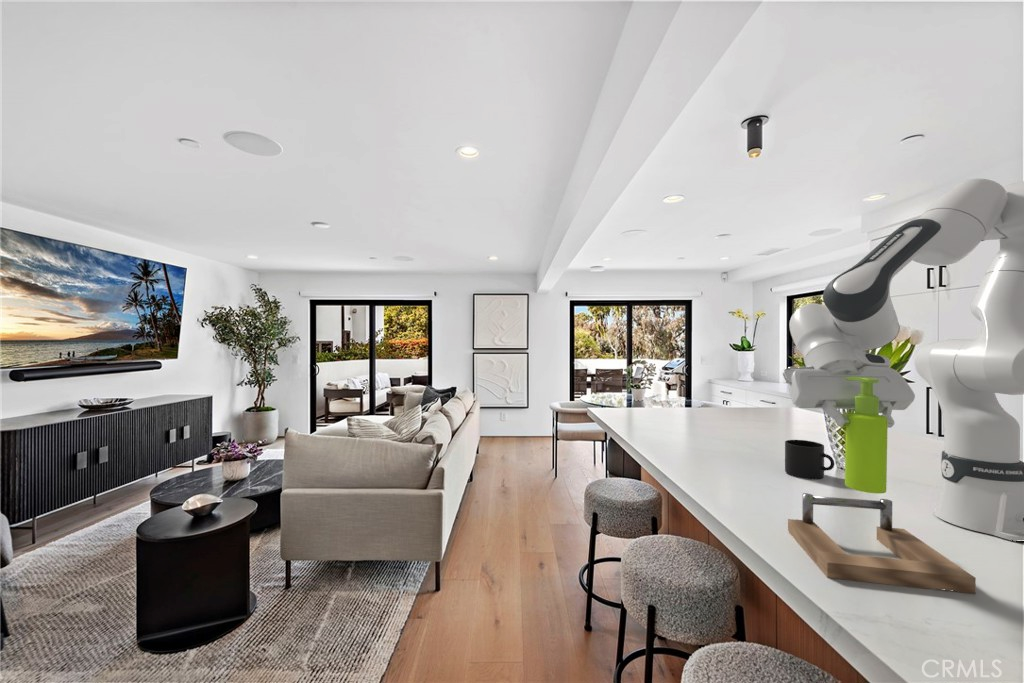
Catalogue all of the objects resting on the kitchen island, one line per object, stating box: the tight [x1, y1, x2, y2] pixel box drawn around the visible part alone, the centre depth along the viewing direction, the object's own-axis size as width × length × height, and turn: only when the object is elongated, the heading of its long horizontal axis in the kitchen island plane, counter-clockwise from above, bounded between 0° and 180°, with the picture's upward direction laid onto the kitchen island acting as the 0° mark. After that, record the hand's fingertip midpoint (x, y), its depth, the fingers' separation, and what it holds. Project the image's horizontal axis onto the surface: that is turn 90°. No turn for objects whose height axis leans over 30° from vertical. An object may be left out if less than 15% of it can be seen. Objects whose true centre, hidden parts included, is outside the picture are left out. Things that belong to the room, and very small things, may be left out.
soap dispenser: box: [844, 377, 888, 494], centre depth 81 cm, size 6×7×20 cm
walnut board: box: [787, 518, 977, 595], centre depth 80 cm, size 20×18×2 cm
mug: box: [784, 439, 835, 480], centre depth 127 cm, size 9×12×9 cm
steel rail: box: [801, 492, 893, 531], centre depth 87 cm, size 15×2×6 cm, turn 76°
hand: (866, 425), depth 80 cm, fingers closed on soap dispenser, 6 cm apart
